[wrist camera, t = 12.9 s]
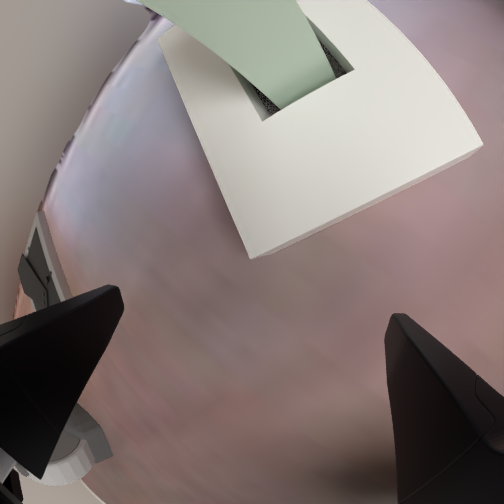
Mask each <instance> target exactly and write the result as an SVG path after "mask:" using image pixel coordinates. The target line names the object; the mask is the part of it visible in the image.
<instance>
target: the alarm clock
mask: <svg viewBox="0 0 504 504" xmlns="http://www.w3.org/2000/svg"><path fill="white" fill-rule="evenodd" d="M111 456H113V454H112V452H111V449H110V447H109V445H108V442H107V440H106V437H105V435H104V432H103V430H102V428H101V426H100V425H99V424H98V423H97V422H96V421H95V420H94V419H93V418H92V417H91V416H90V415H89V414H88V413H87V412H86V411H85V410H84V409H83V408H82V407H81V406H80V405H78V404H77V403H76V405H75V407H74V409H73V411H72V413H71V415H70V417H69V419H68V421H67V423H66V425H65V427H64V429H63V431H62V434H61V435H60V438H59V440H58V443H57V445H56V447H55V449H54V452H53V454H52V456H51V458H50V461H49V463H48V465H47V468H46V470H45V473H44V475H43V477H42V479H41V480H39V479H38V478H37V477H35V476H34V475H33V474H31V473H30V472H29V471H27V470H26V469H25V468H24V467H22V466H21V465H20V464H19V463H18V462H16V464H15V467H16V468H17V469H18V471H19V472H20V473H21V474H22V475H24V476H26V477H27V476H28V477H30V478H31V479H33V480H34V481H36V482H38V483H41V484H45V485H52V486H60V485H67V484H70V483H73V482H75V481H77V480H79V479H81V478H82V477H83V476H85V475H86V474H87V473H88V472H89V470H90V469H91V468H92V466H93V463H98V462H100V461H102V460H104V459H107V458H109V457H111Z"/></svg>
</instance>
